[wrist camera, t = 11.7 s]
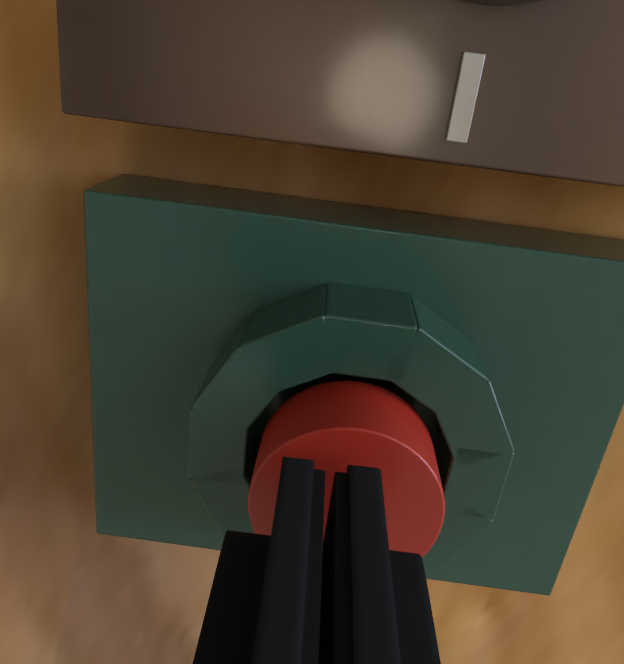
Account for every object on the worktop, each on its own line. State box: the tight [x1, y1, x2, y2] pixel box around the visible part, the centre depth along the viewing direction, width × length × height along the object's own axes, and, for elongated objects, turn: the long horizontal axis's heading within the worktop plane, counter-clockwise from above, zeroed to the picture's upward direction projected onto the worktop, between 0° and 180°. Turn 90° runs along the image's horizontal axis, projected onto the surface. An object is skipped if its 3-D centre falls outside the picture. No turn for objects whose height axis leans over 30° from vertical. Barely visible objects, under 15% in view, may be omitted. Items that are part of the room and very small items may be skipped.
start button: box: [248, 381, 445, 557], centre depth 12 cm, size 4×4×2 cm
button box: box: [84, 174, 624, 595], centre depth 14 cm, size 12×9×4 cm
